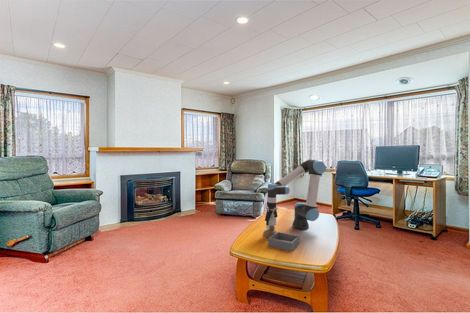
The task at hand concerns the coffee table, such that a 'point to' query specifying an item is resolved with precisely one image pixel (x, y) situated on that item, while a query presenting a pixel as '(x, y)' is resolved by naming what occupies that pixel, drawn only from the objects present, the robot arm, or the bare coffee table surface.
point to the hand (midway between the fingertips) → (271, 226)
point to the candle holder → (271, 230)
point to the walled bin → (284, 241)
